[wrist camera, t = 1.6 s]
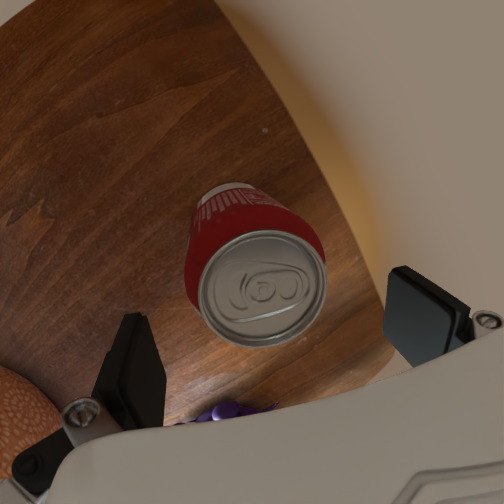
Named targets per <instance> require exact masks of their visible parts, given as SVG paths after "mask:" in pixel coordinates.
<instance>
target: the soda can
mask: <svg viewBox="0 0 504 504" xmlns="http://www.w3.org/2000/svg"><path fill="white" fill-rule="evenodd" d="M184 281H185V288H186V292H187V295H188V298H189V300H190V303H191V304H192V306H193V308H194V309H195V311H196V312H197V314H198V315H199V316H200V317H201V318H202V319H203V320H204V321H205V322H206V323H207V325H208V326H209V327H210V328H211V330H212V331H213V332H214V333H215V334H217V335H218V336H219V337H221V338H222V339H224V340H225V341H227V342H229V343H231V344H234V345H237V346H241V347H246V348H268V347H273V346H277V345H280V344H283V343H285V342H288V341H290V340H291V339H293V338H295V337H297V336H298V335H299V334H301V333H302V332H303V331H305V330H306V329H307V328H308V327H309V326H310V325H311V324H312V323H313V321H314V320H315V319H316V317H317V316H318V314H319V313H320V311H321V309H322V307H323V304H324V301H325V298H326V294H327V285H328V281H327V273H326V263H325V255H324V251H323V248H322V245H321V243H320V240H319V238H318V237H317V235H316V233H315V232H314V231H313V229H312V228H311V227H310V226H309V225H308V224H307V223H306V222H305V221H304V220H303V219H302V218H300V217H299V216H297V215H296V214H295V213H293V212H292V211H290V210H289V209H288V208H286V207H285V206H283V205H282V204H280V203H279V202H278V201H276V200H275V199H273V198H272V197H270V196H269V195H267V194H266V193H265V192H263V191H262V190H260V189H258V188H257V187H255V186H252V185H249V184H245V183H236V182H234V183H227V184H223V185H220V186H217V187H215V188H213V189H212V190H210V191H209V192H207V193H206V194H205V195H204V196H203V197H202V198H201V199H200V201H199V202H198V203H197V205H196V207H195V209H194V211H193V214H192V218H191V224H190V231H189V238H188V245H187V253H186V261H185V269H184Z"/></svg>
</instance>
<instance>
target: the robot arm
mask: <svg viewBox="0 0 504 504" xmlns="http://www.w3.org/2000/svg"><path fill="white" fill-rule="evenodd" d="M470 309H471V308H470V307H469V306H467V305H466V304H464V303H463V302H461V301H460V300H458V299H457V298H456V297H454V296H452V295H451V294H449V293H448V292H447V291H445V290H443V289H442V288H441V287H439V286H437V285H436V284H434V283H433V282H431V281H430V280H428V279H427V278H425V277H424V276H422V275H421V274H419V273H417V272H416V271H414V270H413V269H411V268H409V267H408V266H406V265H405V266H400V267H396V268H393V269H392V271H391V272H390V273H389V275H388V285H387V296H386V305H385V314H384V322H383V334H384V336H385V337H386V338H387V339H388V341H389V342H390V343H391V344H392V345H393V346H394V347H395V348H396V349H397V350H398V351H399V352H400V354H401V355H402V356H403V357H404V358H405V359H406V360H407V361H408V362H409V363H410V364H411V366H412V367H413V368H411V369H409V370H407V371H404V372H401V373H399V374H396V375H394V376H391V377H388V378H386V379H383V380H380V381H377V382H375V383H371V384H368V385H365V386H362V387H359V388H356V389H353V390H350V391H347V392H343V393H340V394H337V395H333V396H330V397H326V398H323V399H319V400H315V401H311V402H307V403H303V404H299V405H295V406H291V407H287V408H282V409H277V410H273V411H268V412H263V413H258V414H253V415H247V416H241V417H235V418H229V419H222V420H215V421H208V422H200V423H190V424H182V425H174V426H164V427H163V420H164V406H165V394H166V383H167V378H166V373H165V370H164V367H163V364H162V361H161V359H160V356H159V353H158V350H157V347H156V344H155V341H154V338H153V334H152V331H151V328H150V325H149V322H148V319H147V316H146V315H145V316H142V315H141V313H140V312H138V313H130V314H125V315H124V317H123V319H122V322H121V324H120V327H119V329H118V332H117V334H116V337H115V339H114V342H113V344H112V347H111V350H110V351H108V352H107V353H106V356H105V358H104V361H103V364H102V366H101V369H100V372H99V374H98V377H97V380H96V383H95V386H94V388H93V391H92V394H91V397H80V398H77V399H74V400H72V401H71V402H69V403H68V404H67V405H66V406H65V407H64V408H63V410H62V412H61V414H60V422H61V425H62V428H60V429H58V430H57V431H55V432H54V433H52V434H50V435H49V436H47V437H45V438H44V439H42V440H41V441H39V442H37V443H36V444H34V445H32V446H31V447H29V448H27V449H26V450H24V451H22V452H21V453H19V454H18V455H17V456H16V458H15V459H14V460H13V463H12V467H11V472H12V477H11V478H10V479H8V478H7V477H5V478H4V479H3V480H2V481H1V482H0V504H504V319H503V318H502V317H501V316H500V315H499V314H497V313H495V312H492V311H487V310H482V311H477V312H476V313H474V314H473V316H472V319H471V318H469V313H470Z"/></svg>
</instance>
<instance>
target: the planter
mask: <svg viewBox="0 0 504 504" xmlns="http://www.w3.org/2000/svg"><path fill="white" fill-rule="evenodd" d="M60 428H62V425H61V422H60V413H59V411H58V410H57V408H56V407H55V406H54V405H53V403H52V402H51V401H50V400H49V399H48V398H47V397H46V396H45V395H44V394H43V393H42V392H41V391H40V390H39V389H38V388H37V387H36V386H34V385H33V384H32V383H31V382H29V381H28V380H26V379H25V378H24V377H22V376H20V375H19V374H17V373H15V372H13V371H11V370H9V369H7V368H5V367H2V366H0V482H1V481H2V480H3V479H4V478H5V477H7V478H8V479H10V478H11V477H12V472H11V467H12V463H13V460H14V459H15V458H16V456H17V455H18V454H19V453H21V452H22V451H24V450H26V449H27V448H29V447H31V446H32V445H34V444H36V443H37V442H39V441H41V440H42V439H44V438H45V437H47V436H49V435H50V434H52V433H54V432H55V431H57V430H58V429H60Z"/></svg>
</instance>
